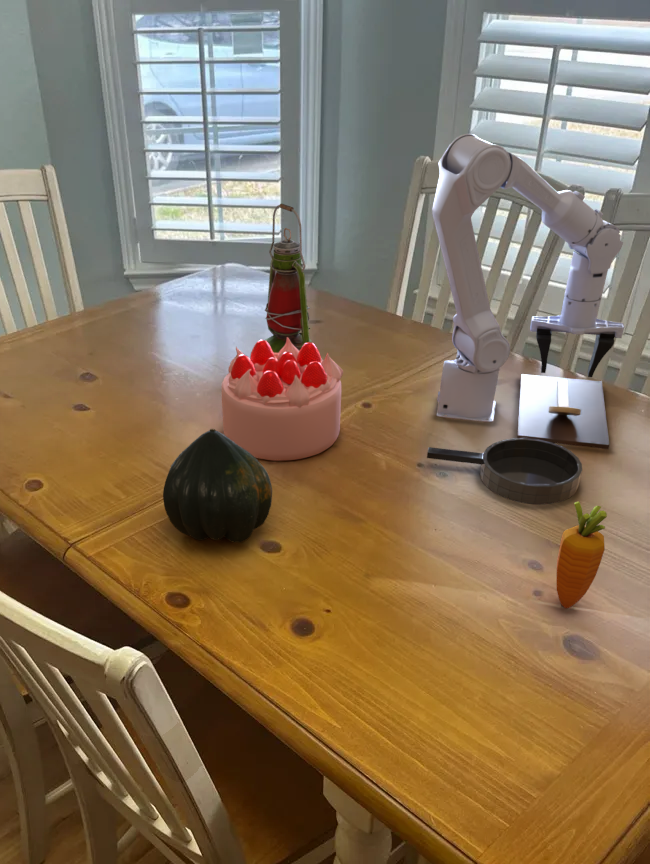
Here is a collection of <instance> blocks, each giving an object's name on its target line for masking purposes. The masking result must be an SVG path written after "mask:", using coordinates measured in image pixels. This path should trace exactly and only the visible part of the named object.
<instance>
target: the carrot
mask: <svg viewBox="0 0 650 864" xmlns="http://www.w3.org/2000/svg"><path fill="white" fill-rule="evenodd" d="M573 505H574V509H575V512H576V517H577V522H578V525H574V526H573V527H569V528H566V529H565V530H563V532H562V535H561V539H560V543H559V548H558V553H557V560H556V593H557V598H558V600H559V603H560V605H561V607H563V608H564V609H570V608H572V607H573V606H574V605H576V604H577V603H578V602H579V601H580V600H581V599H583V597H584V596H585V595H586V593H588V590H589V589H590V587H591V585H592V584H593V582H594V580H595V578H596V576H597V574H598V571H599V568H600V565H601V563H602V559H603V556H604V553H605V548H606V547H605V535H603V533H601V532H600V531H602V530H604V529H606V526H605V525H603V524H600V523H602V522H603V521H604V520H605V519H606V518H607V517H608V513H607V511H605V510H601V509H602V506H601V505H595V506H594V507H593V508H592V510H591V511H590V513H588V512H586V513H584V514H583V508H582V505H581V502H580V501H576V502H574V503H573Z"/></svg>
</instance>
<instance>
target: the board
mask: <svg viewBox="0 0 650 864" xmlns="http://www.w3.org/2000/svg"><path fill="white" fill-rule="evenodd" d="M558 379H563V380H567V383H568V402H569V407H571V408H577V409H581V413H580V415H578V416H572V415H560V414H553V413H549V412H548V411H549V407H550V406H558V405H557V382H558ZM518 398H519V401H518V416H517V418H518V419H517V434H516V438H531V439H539V440H544V441H548V442H552V443H555V444H557V445H567V446H575V447H584V448H585V447H586V448H595V449H602V450H603V449H604V450H609V448H610V437H609V430H608V422H607V413H606V405H605V397H604V388H603V381H602V380H601V381H600V380H590V379H579V378H569V377H568V378H567V377H557V376H548V375H547V376H546V375H537V374H536V375H534V374H524V373H522V374H520V380H519V397H518Z"/></svg>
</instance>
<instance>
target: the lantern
mask: <svg viewBox="0 0 650 864" xmlns="http://www.w3.org/2000/svg"><path fill="white" fill-rule="evenodd" d="M279 208H281V210H286V211H287V212H291V213H294V215H295V217H296V219H297V222H298V230H299V231H298V232H299V233H298V235H299V236H298V237H299V242H298V241H295V240H293V239H292V231H291V229H290V228H287V227H285V228H284V229H283V237H284V238H285V239H282V240H280V241H278V242H275V233H276V230H275V229H276V212H277V211H278V209H279ZM301 222H302V221H301V218H300V216H299V214H298V212H297V211H296V210H295V208H294V207H293V206H291V205H287V204H285V203H280V204H278V205H277V206H276V207H274V210H273V214H272V236H271V237H272V240H271V245H270V247H269V250H268V252H269V255H270V258H271V260H270V265H269V279H268V291H267V293H268V294H267V302H266V305H265V308H264V311H265V312H266V316H265V318H264V320H266V324H267V329H268V331H269V332H270V333H271V334H272V335H271V336H269V337H267V338H265V339H264V340H265V341H267V342H268V343H269V345H270V346H271V348H272V350H273V353H279V351H280V350H281V349H282V348H283V347H284V346H285V344H286V341H287V337H288V338H289V339H290V341H291V343H292V344H293V345H294V346H295V347H296V348H297V349H298V350H299V351H300V349H301V347H302V346H303V345H304V344H305V343H307V342H312V343H314V342H313V340H311V339H310V330H311V328H310V327H309V321H310V314H309V311H308V310H310V309H311V306H309V305H308V301H307V287H306V286H307V285H306V274H305V269H306V263H305V259H304V255H303V239H302V238H303V235H302V232H303V231H302V223H301ZM286 230H287V231H288V232H289V237H287V236H286ZM272 251H273V252H272Z"/></svg>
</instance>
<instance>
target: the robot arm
mask: <svg viewBox="0 0 650 864" xmlns="http://www.w3.org/2000/svg"><path fill="white" fill-rule="evenodd" d="M438 169H439V177H438V180H437V186H436V190H435V195H434V200H433V204H432V210H431V211H432V212H431V213H432V219H433V223H434V226H435V231H436V235H437V238H438V242H439V247H440V250H441V255H442V260H443V263H444V267H445V271H446V275H447V280H448V283H449V289H450V291H451V296H452V300H453V304H454V309H455V312H456V313H455V315H454V316H453V317H452V322H453V331H452V335H451V342H452V344H453V346H454V348H455V349H456V357H455V359H451V360H444V361H443V365H442V370H441V377H440V385H439V386H440V387H439V391H438V392H437V399H436V402H438V403H437V411H436V416H437V417H439V418H449V419H458V420H466V421H475V422H477V421H478V422H486V423H493V422H494V421H495V410H496V404H497V403H496V401H495V396H496V390H497V384H498V378H499V372H500V370H501V368H502V367H503V366H504V365H505V363H507V361H508V359H509V357H510V355H511V344H510V342H509V340H508V339H507V338H506V337H505V336H504V335H503V333H502V331H501V326H500V324H499V322H498V321H497V319H496V316H495V315H494V313H493V311H492V309H491V305H490V300H489V296H488V291H487V287H486V282H485V277H484V273H483V268H482V263H481V258H480V254H479V249H478V245H477V240H476V235H475V231H474V227H473V221H472V216H473V215H474V213H475V212H476V210H478V209H479V207H481V206H482V205H483V204H484V203H485V202H486V201H487V200H488V199H489V198H490V197H491V196H492V195H493V194H495V192H497V191H498V190H499V189H502V190H508V189H511V188H512V189H513V190H514V191H515V192H517V193H518V194H520V195H521V196H523V197H524V198H525V199H527V200H528V201H529V202H531V204H533V205H534V206H535V207H537V208H538V209H540V210H541V222H542V223H543V225H544V226H546V227H547V228H548V229H550V230H551V231H552V232H553V233H554V234H556V235H557V236H558V237H559V238H561V239H562V240H563V241H565V242H566V243H567V245H568V247H569V249H570V250H573V252H572V257H571V262H570V267H569V270H568V271H569V272H568V277H567V281H566V285H565V292H564V296H563V302H562V306H561V310H560V315H549V316H548V315H547V316H534V315H533V316H531V319H530V320H531V321H530V327H529V332H535V334H536V335H535V338H536V342H537V343H536V344H537V345H538V349H539V354H540V359H541V361H540V362H541V366H540V373H541V374H546V373H547V365H548V358H549V357H548V356H549V352H550V348H551V344H552V335H553V333H552V332H554V333H564V334H565V333H566V334H567V333H568V334H571V335H581V336H583V335H592V336H595V340H594V346H593V350H592V354H591V357H590V361H589V364H588V368H587V378H593V376H594V374H595V371H596V370H597V368H598V366H599V364H600V363H601V361H602V360H603V358H604V357H605V356H606V354H607V353H608V352H609V351H610V350H611V349H612V348H613V346H614V344H615V339H622V338H623V334H624V330H625V325H624V322H618V321H611V320H606V319H601V318H598V315H599V310H600V305H601V302H602V297H603V293H604V289H605V286H606V285H605V284H606V280H607V277H608V276H607V275H608V272H609V270H610V269H611V266H612V262H613V260H614V259H615V257H617V255H618V254H619V253H620V251H621V250H622V248H623V245H624V242H623V241H622V240H621V236H622V235H621V234H620V233H621V231H620V229H619V227H617V225H615V224H612V223H610V222H609V221H606V220H605V219H603V216H604V213H603V212H602V211H601V210H599V209H596V208H595V209H593V208H592V207H591V206H590V205H588V204H587V203H586V202H585V201H584V199H585V194H583V193H582V192H580V191H578V190H574V191H572V190H570V189H569V190H568V189H565V190H560V191H557V190H556V189H555V188H554V187H553V186H552V185H551V184H550V183H549V182H547V180H546V179H544V178H543V176H541V175H540V174H539V173H538V172H536V170H535V169H534V168H532V166H531V165H529V163H527V162H526V161H525V160H523V158H521V157H519V156H518V155H515V154H513V153H512V152H509V151H507V149H506V148H504V146H501V145H498V144H497V143H496V144H495V143H494V144H493V143H491V142H489V141H487V140H484V139H482V138H480V137H479V136H477V135H476V134H473V133H464V134H461V135H458V136H457V137H455V138H454V139H453V140H452V141H451V143H449V145H448V147H447V148H446V150H445V151H444V152H443V154H442V156H441V157H440V158H439V161H438Z"/></svg>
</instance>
